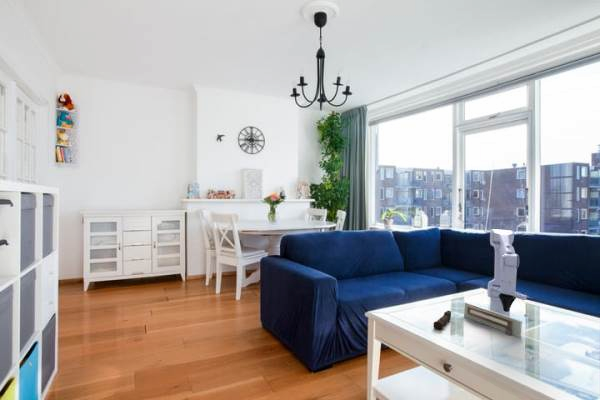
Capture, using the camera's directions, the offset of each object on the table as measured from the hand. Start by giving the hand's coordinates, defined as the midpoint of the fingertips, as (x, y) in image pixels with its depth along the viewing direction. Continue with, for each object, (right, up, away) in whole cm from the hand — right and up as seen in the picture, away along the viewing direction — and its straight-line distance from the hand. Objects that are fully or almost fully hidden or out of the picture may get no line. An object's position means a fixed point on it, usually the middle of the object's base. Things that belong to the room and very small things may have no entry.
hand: (506, 311), depth 148 cm
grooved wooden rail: (-4, -7, +7) cm, 11 cm away
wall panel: (-3, -9, +7) cm, 13 cm away
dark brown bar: (-25, -9, +8) cm, 28 cm away
